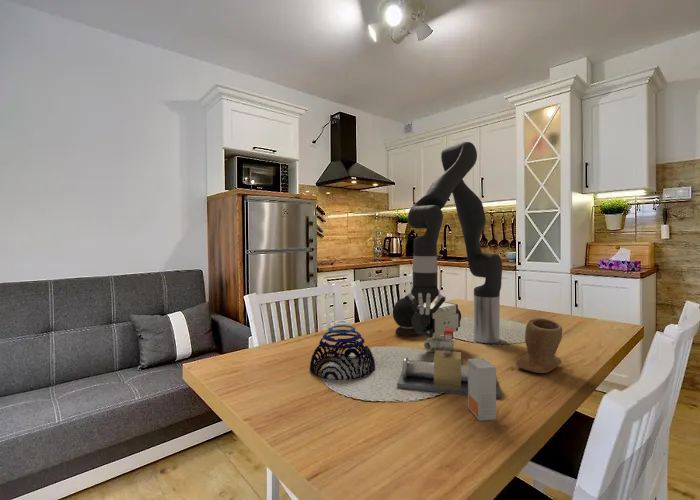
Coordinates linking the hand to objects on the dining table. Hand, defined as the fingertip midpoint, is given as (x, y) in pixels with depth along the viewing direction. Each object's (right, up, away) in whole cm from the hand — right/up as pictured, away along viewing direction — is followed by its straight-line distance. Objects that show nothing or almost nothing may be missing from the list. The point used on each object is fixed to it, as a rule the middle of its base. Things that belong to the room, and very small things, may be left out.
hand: (424, 326), depth 113 cm
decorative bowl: (-25, -13, +1) cm, 29 cm away
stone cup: (+35, -13, -3) cm, 37 cm away
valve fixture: (+4, -13, -13) cm, 19 cm away
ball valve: (+8, -12, +15) cm, 21 cm away
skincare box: (+7, -14, -30) cm, 33 cm away
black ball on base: (+1, -11, +38) cm, 40 cm away
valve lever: (+5, -3, -7) cm, 9 cm away
